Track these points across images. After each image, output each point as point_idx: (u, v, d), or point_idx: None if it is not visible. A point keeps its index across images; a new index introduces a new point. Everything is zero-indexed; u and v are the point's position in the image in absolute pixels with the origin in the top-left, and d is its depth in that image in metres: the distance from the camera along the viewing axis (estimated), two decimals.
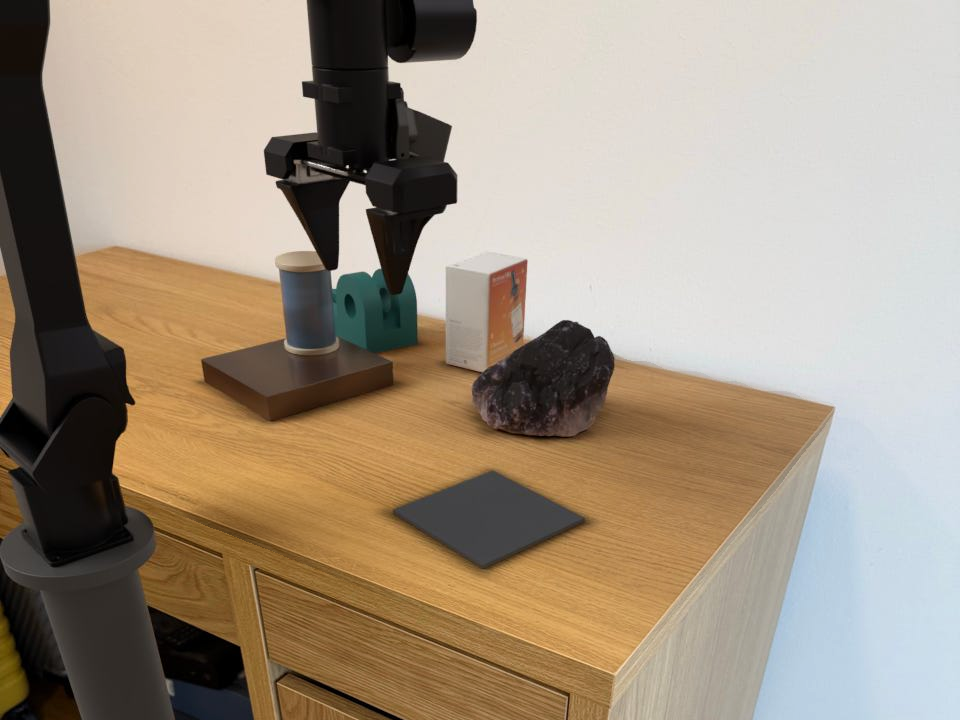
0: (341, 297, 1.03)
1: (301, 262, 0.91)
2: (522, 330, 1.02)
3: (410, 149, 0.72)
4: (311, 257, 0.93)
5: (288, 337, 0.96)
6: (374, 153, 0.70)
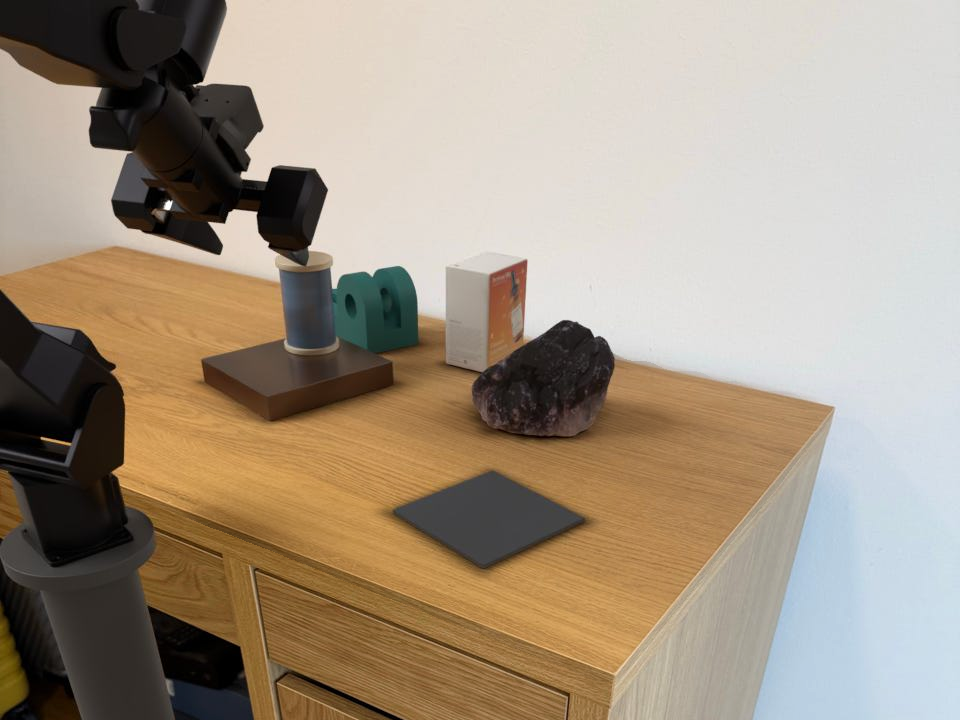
0: (342, 297, 1.03)
1: None
2: (522, 330, 1.02)
3: (244, 148, 0.76)
4: (311, 257, 0.93)
5: (288, 337, 0.96)
6: (235, 190, 0.75)
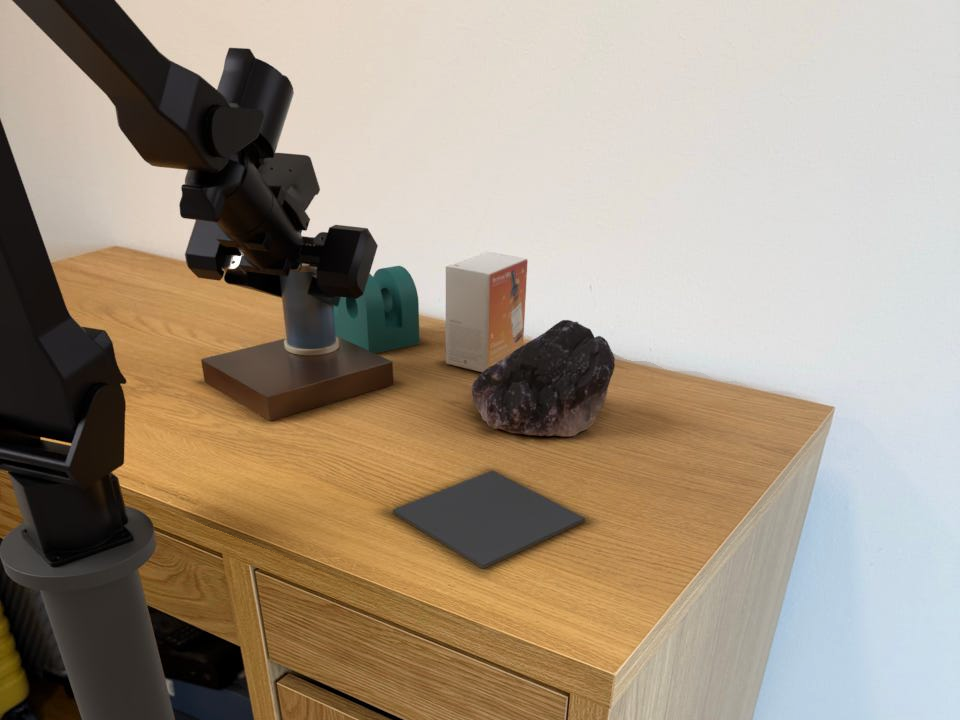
0: (342, 297, 1.04)
1: None
2: (522, 330, 1.02)
3: (304, 210, 0.86)
4: None
5: (288, 337, 0.96)
6: (296, 247, 0.85)
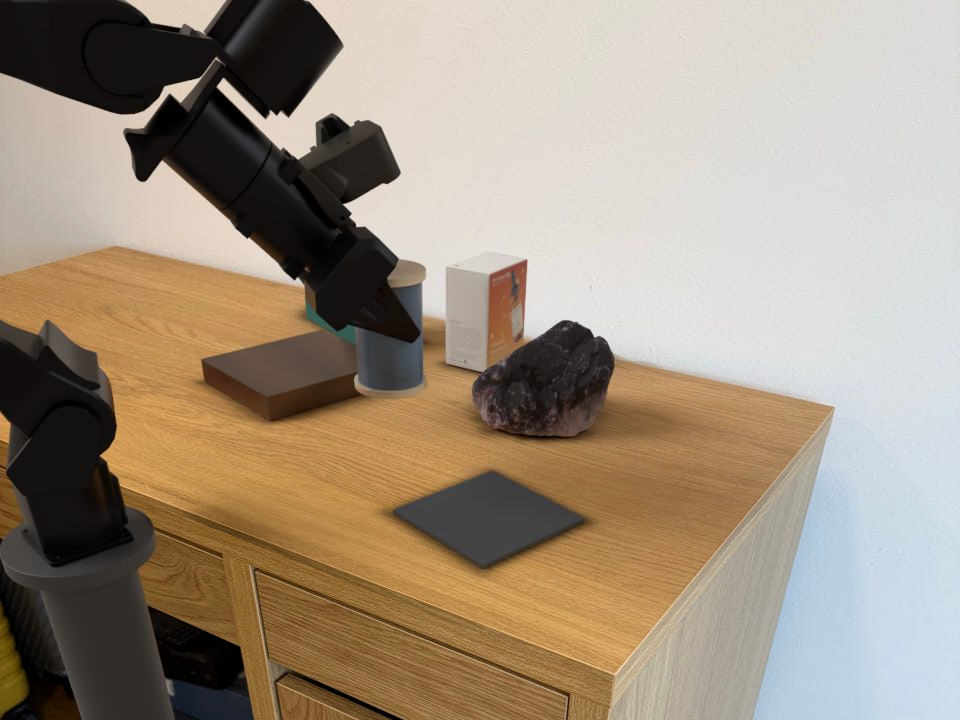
0: None
1: None
2: (522, 330, 1.02)
3: (349, 199, 0.62)
4: (396, 269, 0.67)
5: None
6: (313, 245, 0.62)
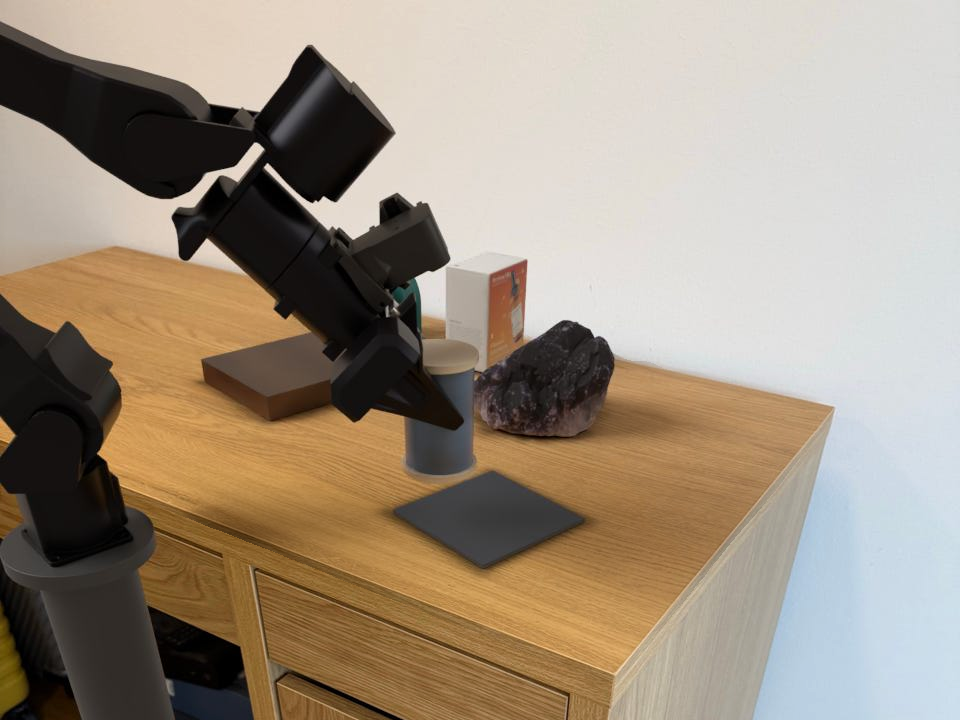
0: None
1: None
2: (522, 330, 1.02)
3: (392, 285, 0.60)
4: (446, 354, 0.65)
5: None
6: (351, 329, 0.61)
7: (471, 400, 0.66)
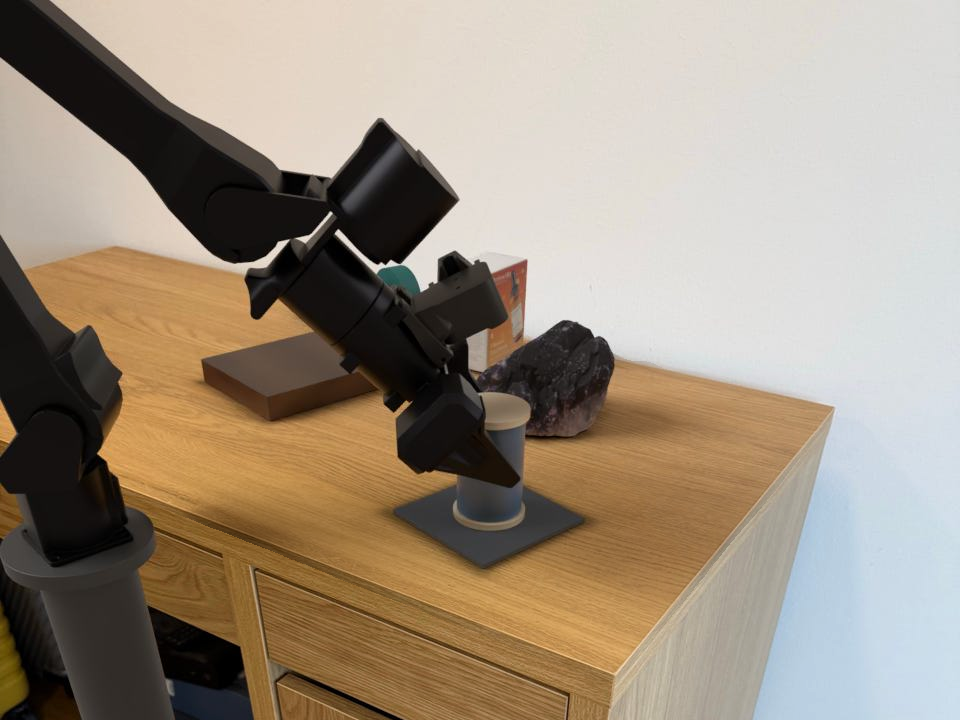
0: None
1: None
2: (522, 330, 1.02)
3: (453, 342, 0.62)
4: (499, 409, 0.68)
5: None
6: (412, 383, 0.63)
7: (522, 452, 0.69)
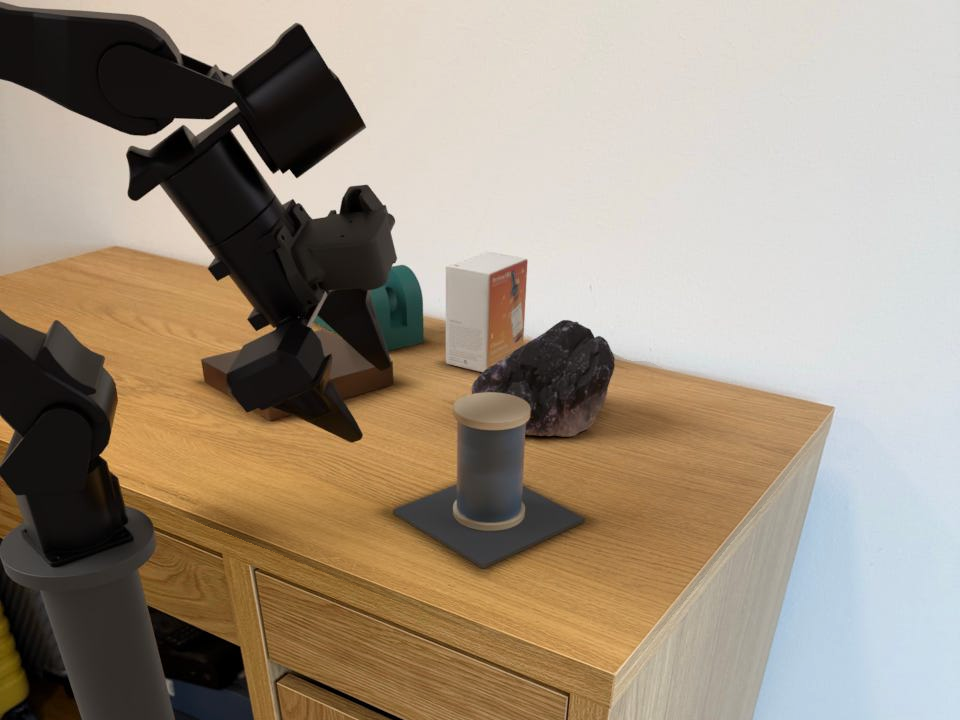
0: None
1: (472, 410, 0.67)
2: (522, 330, 1.02)
3: (323, 288, 0.61)
4: (499, 409, 0.68)
5: None
6: (276, 312, 0.62)
7: (522, 452, 0.69)
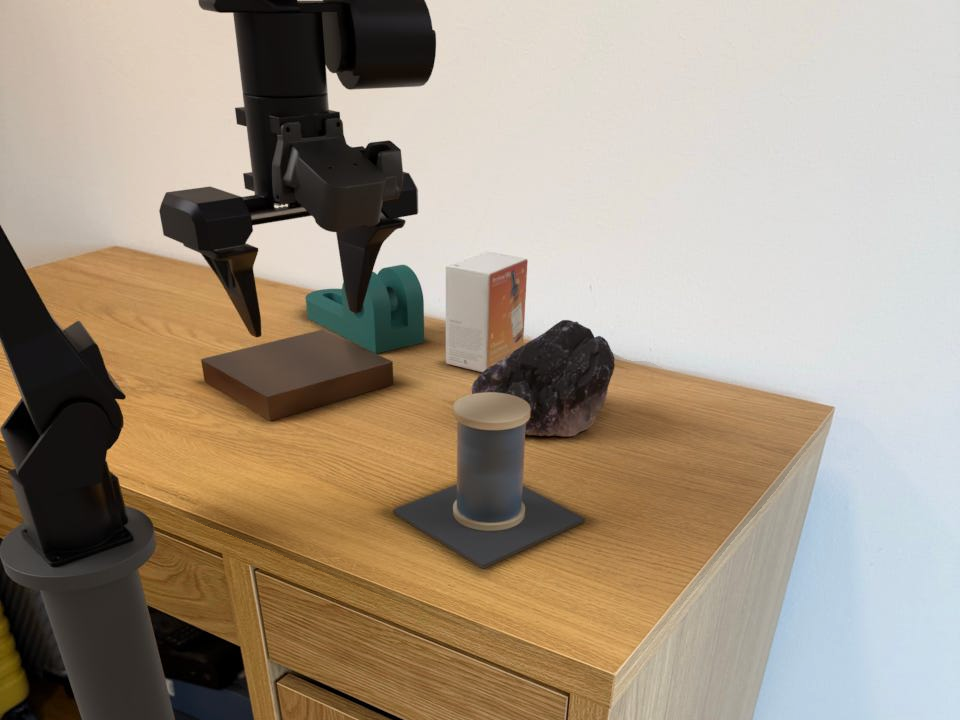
0: None
1: (472, 410, 0.67)
2: (522, 330, 1.02)
3: (294, 196, 0.62)
4: (499, 409, 0.68)
5: None
6: (257, 185, 0.64)
7: (522, 452, 0.69)
